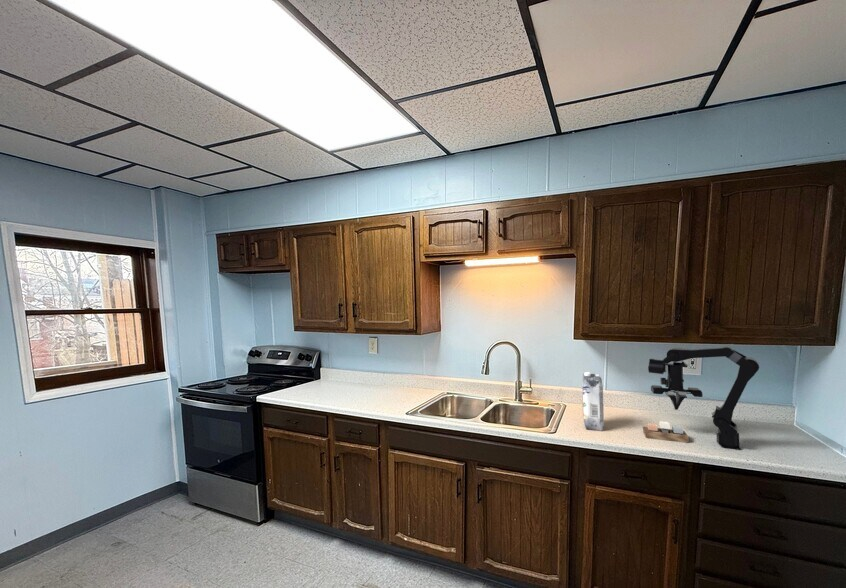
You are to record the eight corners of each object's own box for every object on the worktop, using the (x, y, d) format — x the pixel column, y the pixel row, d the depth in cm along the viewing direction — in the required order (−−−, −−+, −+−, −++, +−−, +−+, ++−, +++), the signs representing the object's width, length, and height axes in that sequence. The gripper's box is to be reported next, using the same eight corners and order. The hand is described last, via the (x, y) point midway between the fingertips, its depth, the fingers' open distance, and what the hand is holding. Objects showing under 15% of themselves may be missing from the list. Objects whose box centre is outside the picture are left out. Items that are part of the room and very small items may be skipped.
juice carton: (602, 424, 178) (600, 371, 178) (604, 432, 168) (603, 375, 168) (582, 422, 181) (581, 370, 181) (584, 430, 171) (582, 374, 172)
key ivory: (668, 432, 161) (668, 422, 161) (670, 435, 158) (670, 424, 158) (659, 431, 163) (659, 421, 163) (661, 434, 160) (661, 423, 160)
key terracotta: (656, 434, 163) (655, 424, 163) (657, 437, 160) (657, 426, 160) (647, 433, 165) (647, 423, 165) (649, 436, 162) (648, 425, 162)
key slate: (681, 437, 159) (680, 426, 160) (683, 440, 156) (683, 429, 156) (672, 436, 161) (671, 425, 161) (674, 439, 158) (673, 428, 158)
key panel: (684, 436, 161) (684, 430, 161) (688, 442, 154) (688, 436, 154) (643, 432, 167) (643, 426, 167) (645, 437, 160) (645, 431, 161)
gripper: (693, 373, 167) (694, 406, 166) (647, 370, 173) (648, 402, 173) (702, 378, 156) (703, 413, 156) (653, 375, 163) (654, 409, 163)
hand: (676, 409), depth 162 cm, fingers closed
